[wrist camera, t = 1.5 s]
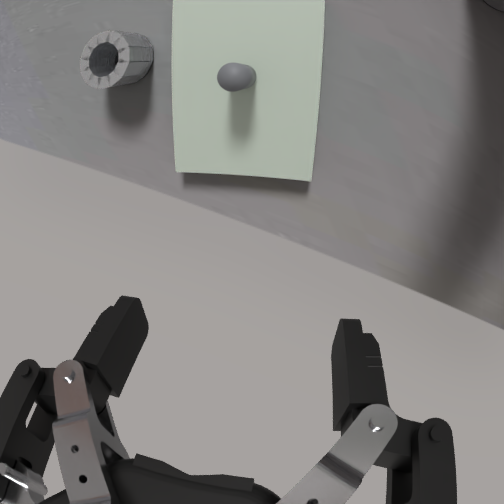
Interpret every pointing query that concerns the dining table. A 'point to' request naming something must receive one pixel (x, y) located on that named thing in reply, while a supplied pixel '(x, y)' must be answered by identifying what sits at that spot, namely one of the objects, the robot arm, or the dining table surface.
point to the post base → (254, 111)
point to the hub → (103, 59)
